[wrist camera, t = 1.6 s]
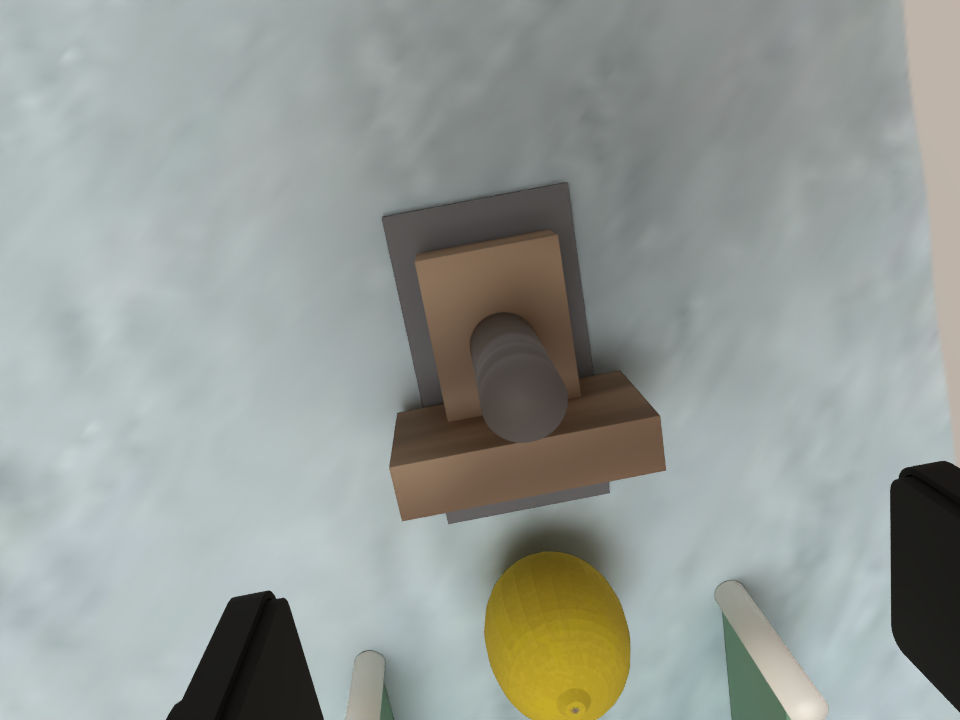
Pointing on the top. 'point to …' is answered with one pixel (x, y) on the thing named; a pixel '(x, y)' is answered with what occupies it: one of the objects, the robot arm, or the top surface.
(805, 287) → the top surface
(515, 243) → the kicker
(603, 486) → the track
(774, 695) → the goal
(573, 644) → the lemon
